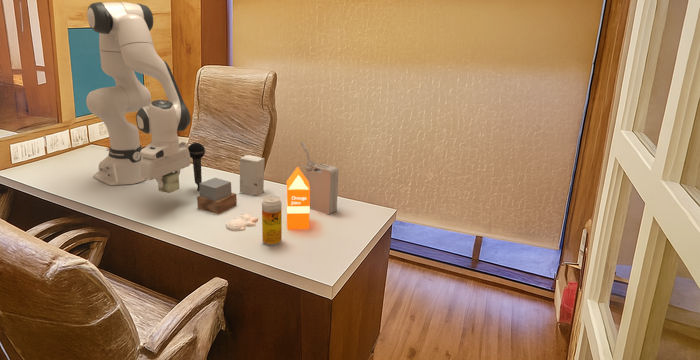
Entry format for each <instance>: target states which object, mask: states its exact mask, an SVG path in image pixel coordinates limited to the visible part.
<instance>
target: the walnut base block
mask: <svg viewBox="0 0 700 360" xmlns="http://www.w3.org/2000/svg"><path fill="white" fill-rule="evenodd" d="M231 193H232V195H229V196H227V197H225V198H222V199H220V200H218V201H214V200H211V199H207V198H204V197H201V196H200V195H197V196H196V201H197V202H196V203H197V204H196V205H197V209H198V210H201V211H204V212H209V213H213V214H216V215H221V214H223V213H225V212H226V211H228V210H231V209H233V208H234V207H236V206H238V204H237V203H238V202H237V201H238V199H237V193H236V192H231Z"/></svg>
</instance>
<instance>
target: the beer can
mask: <svg viewBox="0 0 700 360" xmlns="http://www.w3.org/2000/svg"><path fill="white" fill-rule="evenodd" d="M282 210H283V209H282V200H281V198H280V197H279V196H275V195H268V196H264V198H263V199H262V201H261V227H262V229H261V230H262V231H261V232H262V235H261V236H262V237H261V238H262V242H263V244H265V245H267V246H272V247H273V246H276V245H279V244H280V243H281V242H282V239H283V238H282V233H283V232H282V223H283V221H282V218H283V217H282Z"/></svg>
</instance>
